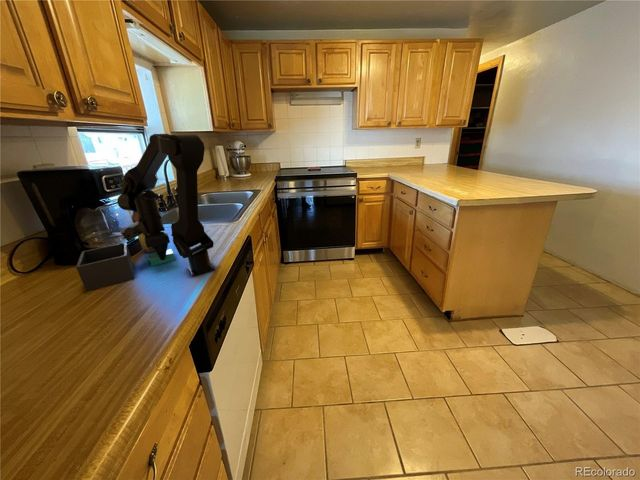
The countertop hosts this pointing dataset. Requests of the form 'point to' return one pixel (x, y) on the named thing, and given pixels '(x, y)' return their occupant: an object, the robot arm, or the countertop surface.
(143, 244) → the sauce bottle
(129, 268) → the trash bin
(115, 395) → the countertop surface
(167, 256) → the packet
